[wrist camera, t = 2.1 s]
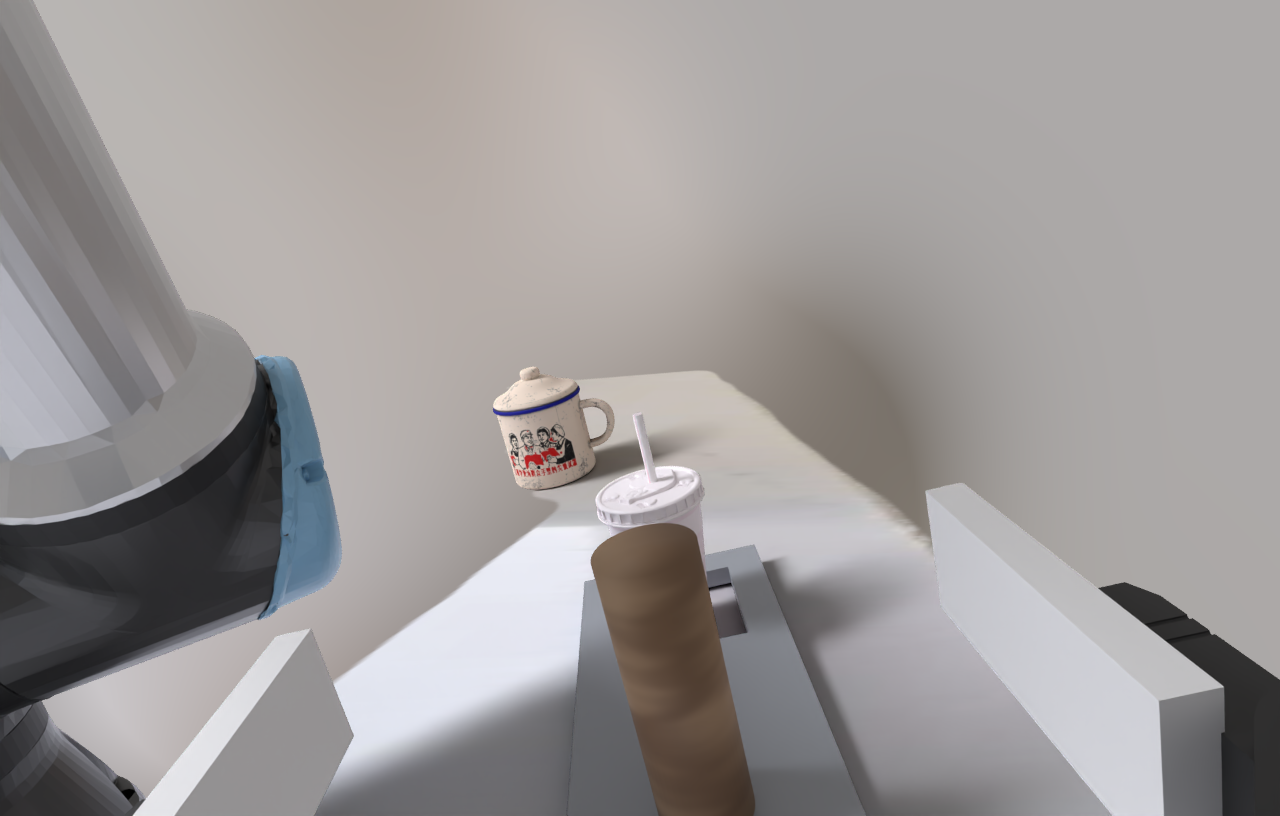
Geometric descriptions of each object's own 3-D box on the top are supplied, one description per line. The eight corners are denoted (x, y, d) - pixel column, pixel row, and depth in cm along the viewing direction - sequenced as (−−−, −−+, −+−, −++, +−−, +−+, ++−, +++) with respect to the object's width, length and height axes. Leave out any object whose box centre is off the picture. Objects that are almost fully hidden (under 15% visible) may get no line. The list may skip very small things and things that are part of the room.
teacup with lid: (504, 498, 73) (472, 389, 70) (527, 464, 82) (499, 366, 79) (618, 479, 71) (590, 366, 68) (630, 446, 80) (605, 345, 77)
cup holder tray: (567, 927, 27) (469, 629, 24) (588, 596, 51) (540, 420, 47) (879, 863, 27) (827, 551, 24) (757, 559, 50) (721, 379, 47)
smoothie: (752, 612, 45) (709, 399, 41) (691, 675, 40) (636, 442, 36) (672, 592, 49) (626, 397, 45) (609, 646, 45) (552, 436, 41)
